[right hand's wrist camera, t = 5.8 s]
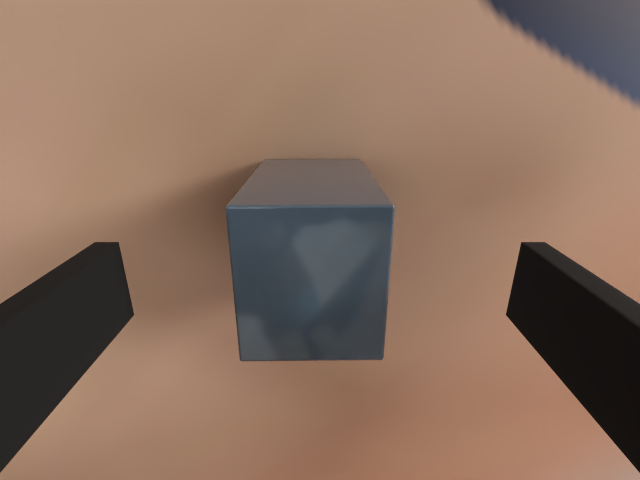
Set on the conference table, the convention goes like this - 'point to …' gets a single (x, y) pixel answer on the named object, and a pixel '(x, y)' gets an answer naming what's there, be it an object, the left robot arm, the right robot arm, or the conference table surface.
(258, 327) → the brick
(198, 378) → the conference table surface
